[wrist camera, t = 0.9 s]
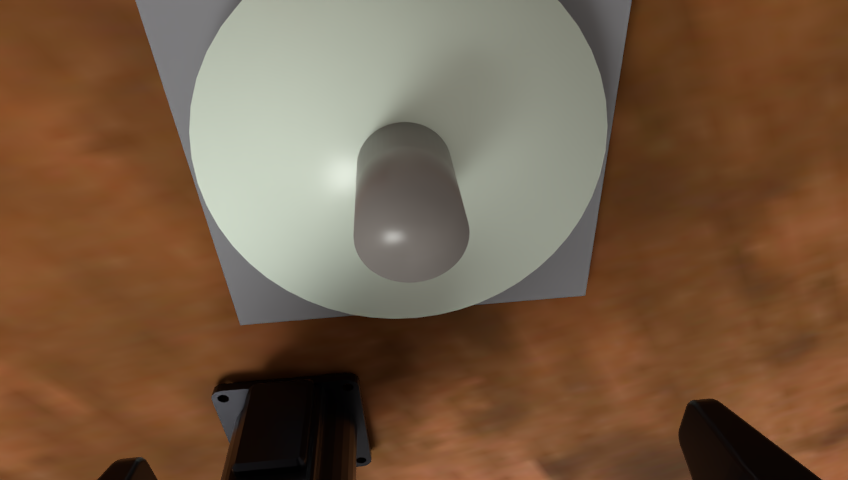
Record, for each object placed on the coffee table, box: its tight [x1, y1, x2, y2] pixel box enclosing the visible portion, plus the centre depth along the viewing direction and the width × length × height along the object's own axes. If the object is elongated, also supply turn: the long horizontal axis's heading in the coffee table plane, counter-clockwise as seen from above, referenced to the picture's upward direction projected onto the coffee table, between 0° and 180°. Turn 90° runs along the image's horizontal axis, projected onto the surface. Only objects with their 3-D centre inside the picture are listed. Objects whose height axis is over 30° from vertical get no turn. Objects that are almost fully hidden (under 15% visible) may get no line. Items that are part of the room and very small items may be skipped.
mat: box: [136, 0, 632, 325], centre depth 19 cm, size 14×14×1 cm
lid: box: [189, 0, 608, 319], centre depth 16 cm, size 13×13×5 cm
